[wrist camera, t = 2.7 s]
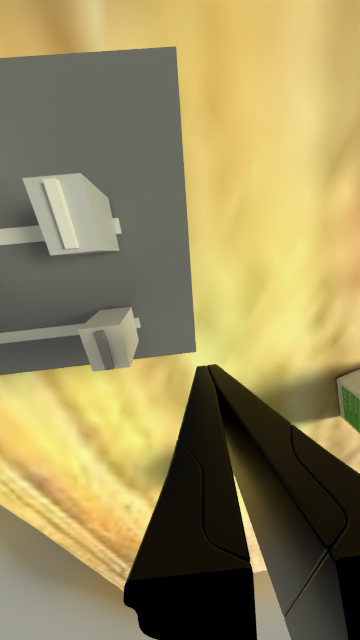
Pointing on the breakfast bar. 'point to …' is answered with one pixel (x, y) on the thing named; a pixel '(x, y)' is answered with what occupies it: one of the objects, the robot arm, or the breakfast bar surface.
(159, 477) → the breakfast bar surface
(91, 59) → the console
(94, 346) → the fader
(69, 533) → the breakfast bar surface
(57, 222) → the fader
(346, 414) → the skincare box
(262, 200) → the breakfast bar surface
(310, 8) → the breakfast bar surface
